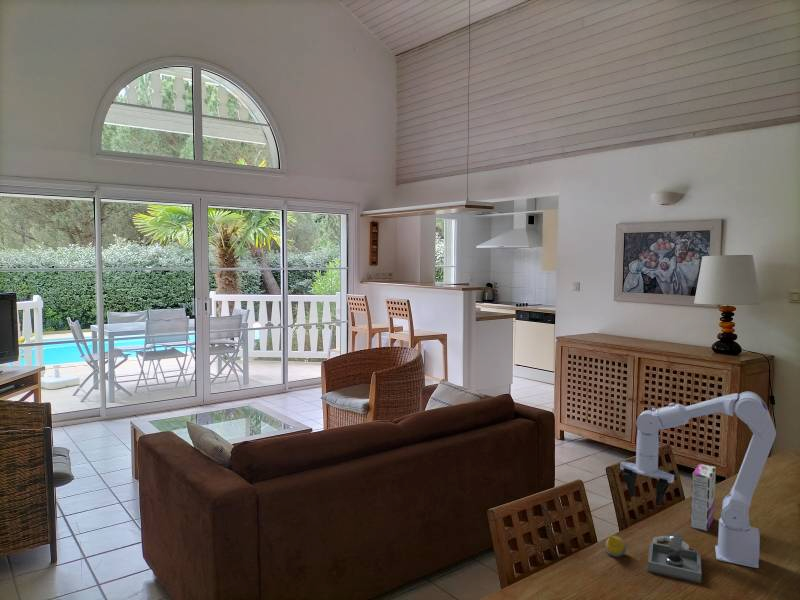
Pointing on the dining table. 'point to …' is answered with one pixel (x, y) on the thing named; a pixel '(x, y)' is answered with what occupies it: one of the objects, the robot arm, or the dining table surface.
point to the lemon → (615, 546)
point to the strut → (675, 551)
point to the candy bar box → (703, 497)
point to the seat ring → (666, 538)
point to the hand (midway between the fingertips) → (645, 500)
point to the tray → (687, 572)
